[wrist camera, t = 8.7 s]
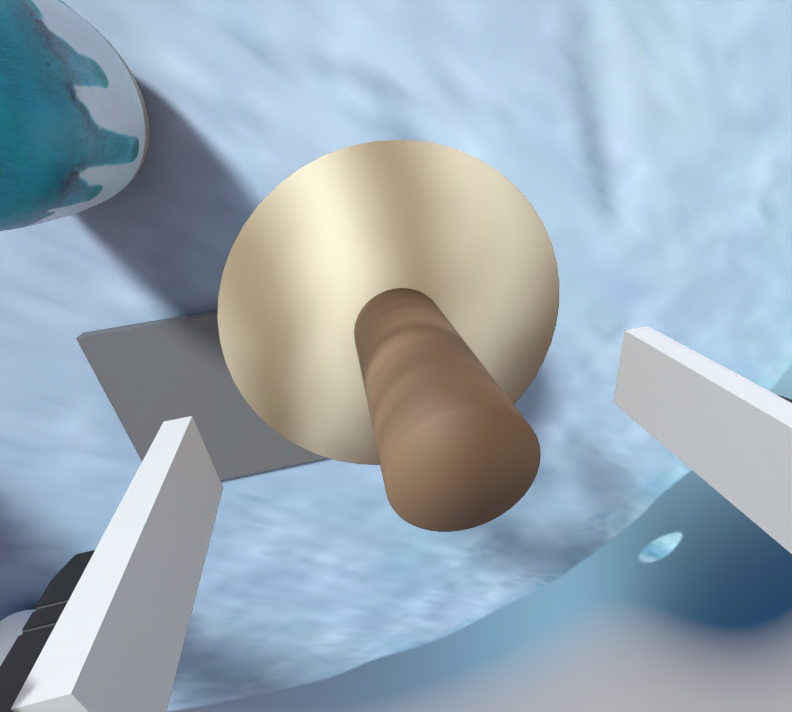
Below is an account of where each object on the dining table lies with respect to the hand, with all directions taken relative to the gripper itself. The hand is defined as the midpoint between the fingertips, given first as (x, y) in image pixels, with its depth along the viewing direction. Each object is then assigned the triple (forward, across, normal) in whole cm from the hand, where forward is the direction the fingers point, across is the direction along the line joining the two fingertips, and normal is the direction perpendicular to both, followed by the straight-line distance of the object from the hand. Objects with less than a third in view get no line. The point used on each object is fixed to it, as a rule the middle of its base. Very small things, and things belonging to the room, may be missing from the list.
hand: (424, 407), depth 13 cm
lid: (+7, 0, 0) cm, 7 cm away
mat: (+22, -14, -11) cm, 28 cm away
